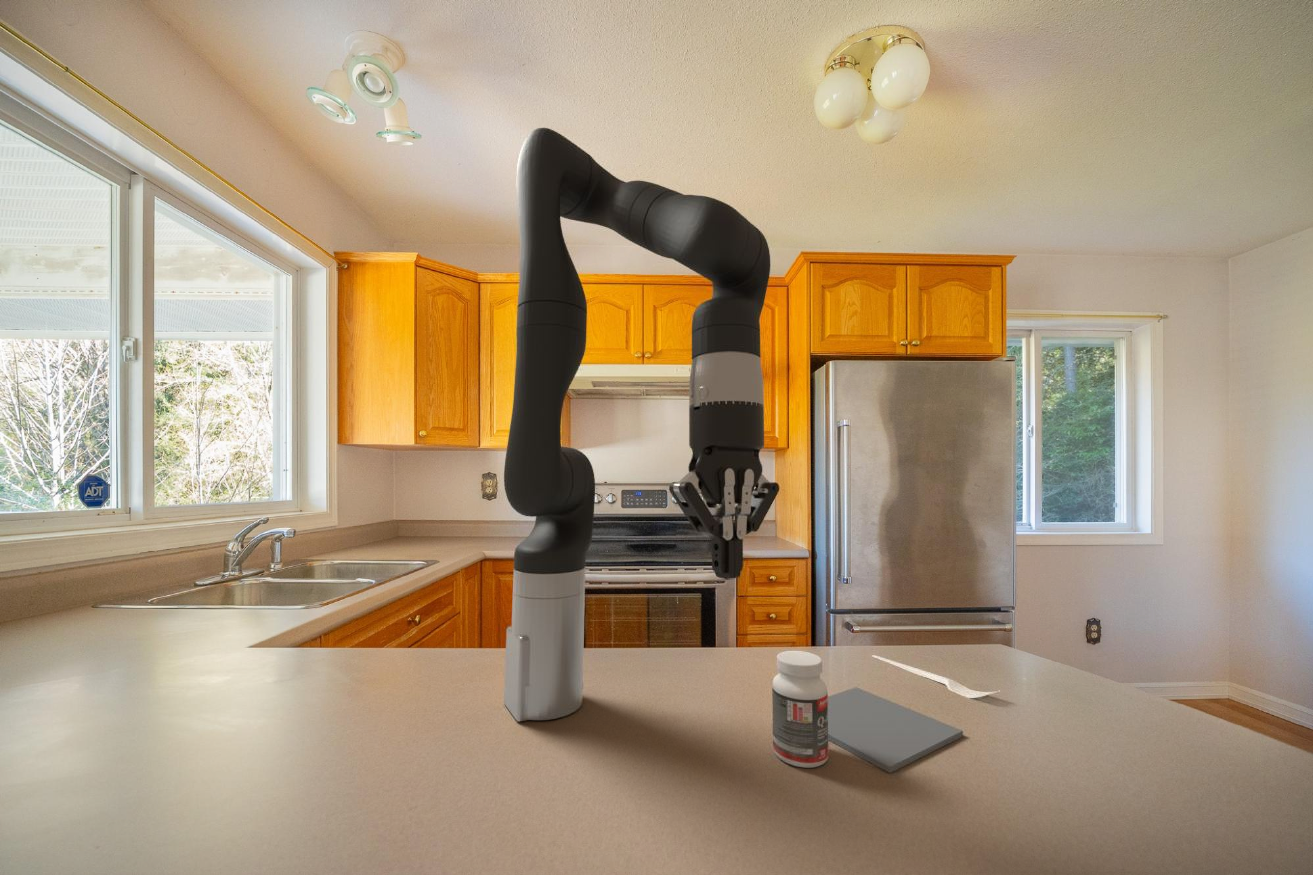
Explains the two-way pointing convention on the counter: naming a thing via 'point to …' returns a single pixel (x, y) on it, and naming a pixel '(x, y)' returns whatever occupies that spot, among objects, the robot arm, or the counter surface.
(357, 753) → the counter surface
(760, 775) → the counter surface
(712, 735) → the counter surface
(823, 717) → the pill bottle
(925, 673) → the fork
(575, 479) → the robot arm
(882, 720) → the mat
